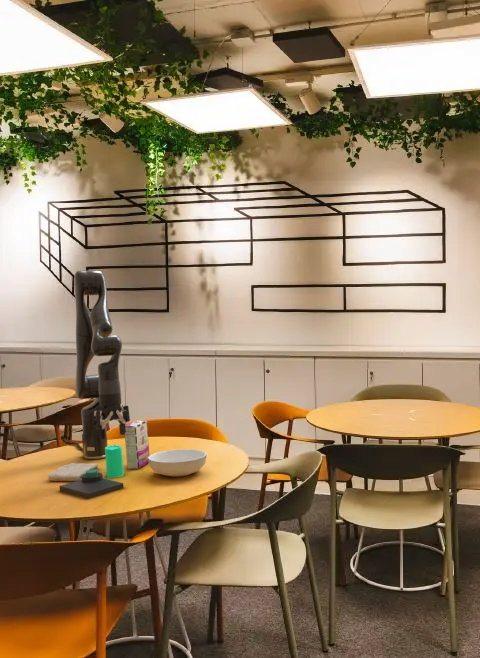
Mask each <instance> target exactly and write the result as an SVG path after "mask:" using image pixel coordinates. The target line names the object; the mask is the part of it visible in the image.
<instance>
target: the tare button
mask: <svg viewBox="0 0 480 658" xmlns="http://www.w3.org/2000/svg"><path fill="white" fill-rule="evenodd" d="M98 470H99V469H98ZM98 470H88V471H86V477H94V476H98Z"/></svg>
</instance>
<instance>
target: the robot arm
mask: <svg viewBox="0 0 480 658" xmlns="http://www.w3.org/2000/svg"><path fill="white" fill-rule="evenodd" d="M73 287H74V288H73V289H74V299H75V348H76V349H75V350H76V366H75V367H76V368H75V369H76V370H75V395H76V397H77V398H78V399H79V400H89V399H90V400H91V399H94V400H93V402H91V403H90V404H88V405H87V406H84V407H82V409H81V410H80V411H81V413H80V415H81V424H82V425H81V427H82V433H81V442H82V446H81V445H80V443H78V442H75V441H74V442H73V441H67V439H66V438H63V439H62V443H64V444H67V445H72V446H77V449H79V450H80V451H82V456H83V458H84V459H86V460H101V459H106V456H105V447H107V446H109V445H108V433H107V432H108V431H107V425H108V424H109V422H112V421H117V422H118V423H119V424H118V427H119V435H120V436H125V433H126V426H127V423H129V422H130V421H131V418H130V417H131V416H130V408H129V405H124V404H123V405H122V391H121V381H120V372H119V371H120V370H119V365H120V357H121V353H122V349H123V342H122V339H121V337H120V336H119V335H116V334H112V333H113V324H112V320H111V316H110V311H109V302H108V301H109V299H108V290H107V282H106V278H105V274H104V272H103V271H102V270H77V271H75V273H74V278H73ZM85 296H98V297H97V300H96V302H95V303H94V305H93V307H92V309H91V310H90V309H89V308H88V305H87V304H86V303H87V302H86V299H85ZM111 334H112V335H111ZM95 356H97V357H107V356H111V357H110V358H109V360H107V361H104V362H100V363H99V364H98V365H97V373H98V374H90V375H87V371H88V368H89V365H90V363H91V361H92V360H93V359H94V357H95Z"/></svg>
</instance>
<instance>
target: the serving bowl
mask: <svg viewBox="0 0 480 658" xmlns="http://www.w3.org/2000/svg"><path fill="white" fill-rule="evenodd" d="M148 461H149V463H148V464H149V466H150V467H149V468H151V470H152V471H153V472H155V473H156V474H158V475H162V476H166V477H171V478H179V477H185V476H189V475H191V474H194V473H196V472H198V471H200V470H201V469H202V468H203V467H204V466H205V464H206V461H207V452H206V451H205V450H202V449H201V450H200V449H192V448H181V449H169V450H162V451H157V452H155V453H152V454H149V457H148Z"/></svg>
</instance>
